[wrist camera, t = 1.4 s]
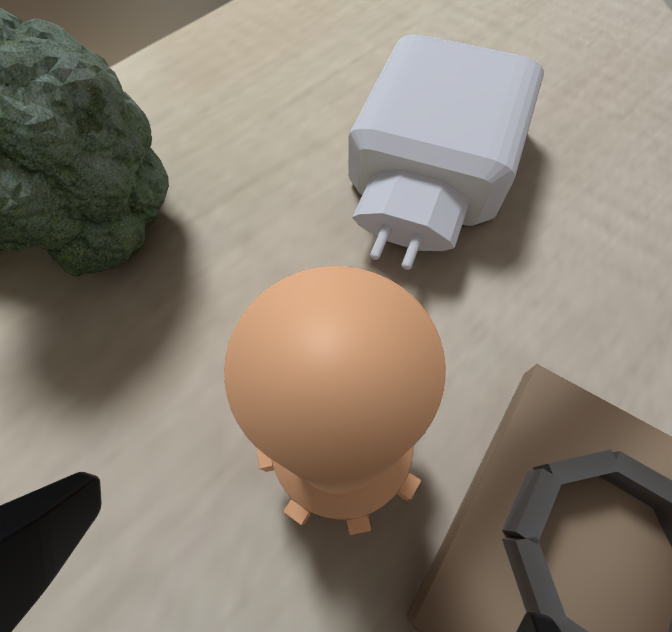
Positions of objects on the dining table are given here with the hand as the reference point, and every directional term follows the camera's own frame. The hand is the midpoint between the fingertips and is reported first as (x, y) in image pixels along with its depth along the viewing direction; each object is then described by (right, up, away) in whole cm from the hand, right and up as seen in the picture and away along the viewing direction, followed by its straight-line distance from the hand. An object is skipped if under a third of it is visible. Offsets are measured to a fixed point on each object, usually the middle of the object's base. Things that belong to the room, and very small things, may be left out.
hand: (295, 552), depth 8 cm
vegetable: (-15, +10, +17) cm, 25 cm away
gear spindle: (+1, -2, +11) cm, 11 cm away
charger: (+6, +13, +18) cm, 23 cm away
